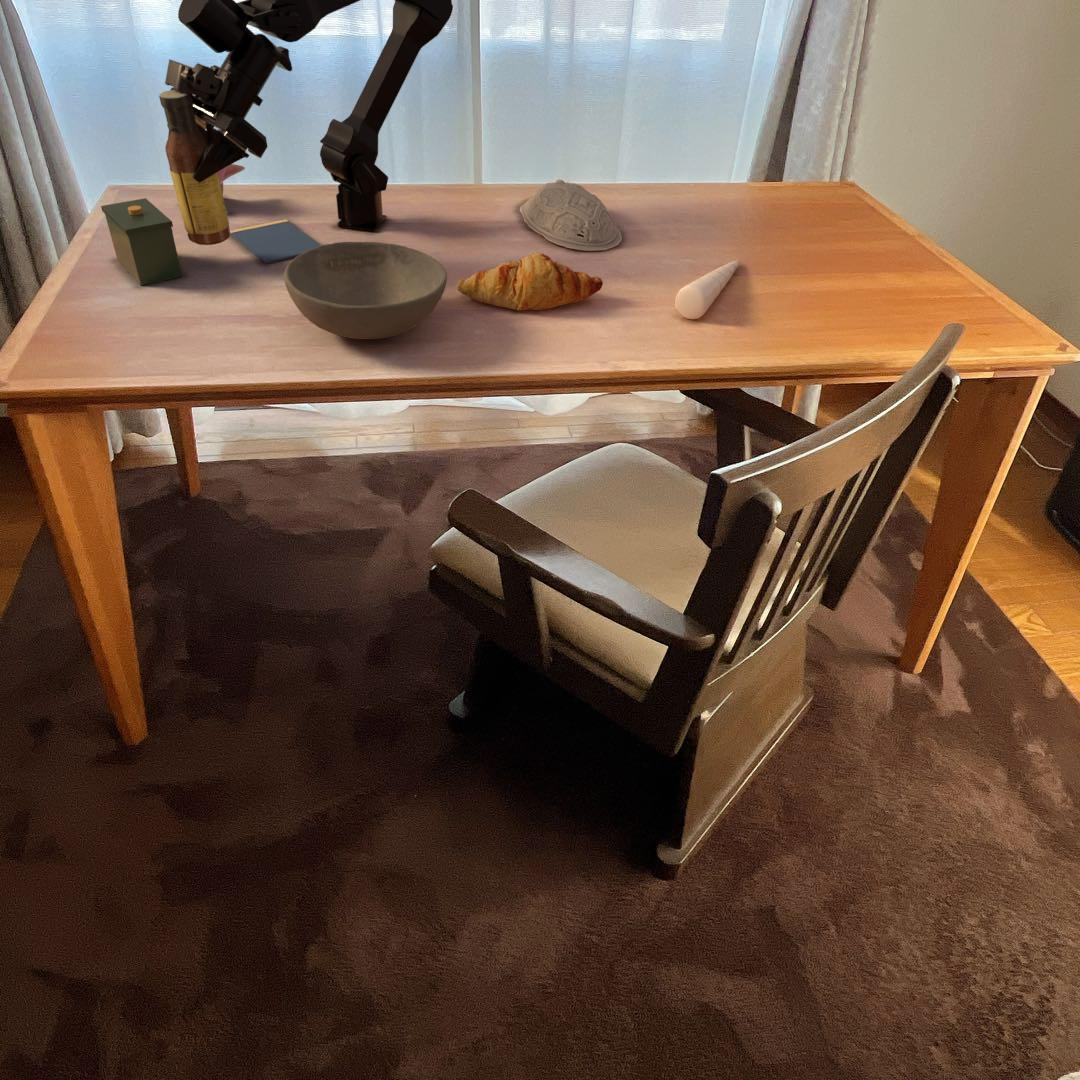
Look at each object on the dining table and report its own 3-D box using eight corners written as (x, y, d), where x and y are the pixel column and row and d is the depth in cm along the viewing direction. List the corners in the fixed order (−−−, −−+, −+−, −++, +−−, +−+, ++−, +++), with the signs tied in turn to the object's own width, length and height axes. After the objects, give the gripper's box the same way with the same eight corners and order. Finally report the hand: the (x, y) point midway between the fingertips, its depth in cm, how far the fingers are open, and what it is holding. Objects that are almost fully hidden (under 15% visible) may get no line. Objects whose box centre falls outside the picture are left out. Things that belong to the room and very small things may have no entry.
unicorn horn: (760, 269, 141) (766, 240, 138) (701, 325, 125) (707, 293, 122) (732, 262, 142) (738, 233, 139) (671, 315, 127) (676, 284, 124)
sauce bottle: (239, 234, 131) (213, 90, 118) (215, 250, 127) (184, 103, 114) (202, 226, 133) (171, 84, 119) (176, 242, 128) (142, 95, 115)
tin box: (158, 252, 134) (144, 192, 128) (184, 276, 128) (170, 215, 122) (115, 260, 131) (99, 200, 125) (140, 286, 125) (123, 224, 119)
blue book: (285, 221, 146) (285, 218, 145) (325, 250, 137) (325, 247, 137) (228, 233, 141) (227, 230, 140) (265, 264, 133) (265, 260, 132)
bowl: (278, 301, 123) (269, 246, 118) (420, 283, 130) (418, 230, 125) (310, 374, 109) (302, 315, 104) (468, 349, 116) (468, 293, 110)
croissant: (458, 329, 127) (458, 294, 120) (455, 272, 131) (454, 235, 123) (602, 325, 129) (610, 291, 122) (594, 269, 133) (602, 233, 125)
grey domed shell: (551, 251, 140) (557, 208, 136) (504, 204, 159) (509, 165, 155) (638, 253, 145) (646, 212, 142) (582, 207, 164) (588, 169, 160)
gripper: (163, 21, 119) (105, 120, 121) (229, 49, 110) (166, 157, 111) (227, 76, 129) (173, 168, 130) (294, 106, 119) (235, 205, 120)
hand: (185, 173), depth 123 cm, fingers closed on sauce bottle, 6 cm apart
